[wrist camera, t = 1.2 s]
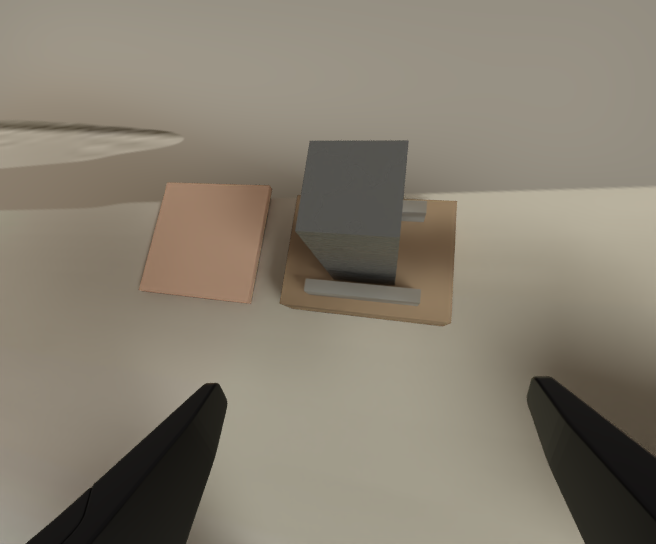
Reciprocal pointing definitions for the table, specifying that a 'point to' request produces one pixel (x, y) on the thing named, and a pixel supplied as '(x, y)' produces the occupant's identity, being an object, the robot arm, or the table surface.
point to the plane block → (411, 275)
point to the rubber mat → (207, 241)
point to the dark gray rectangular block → (354, 207)
